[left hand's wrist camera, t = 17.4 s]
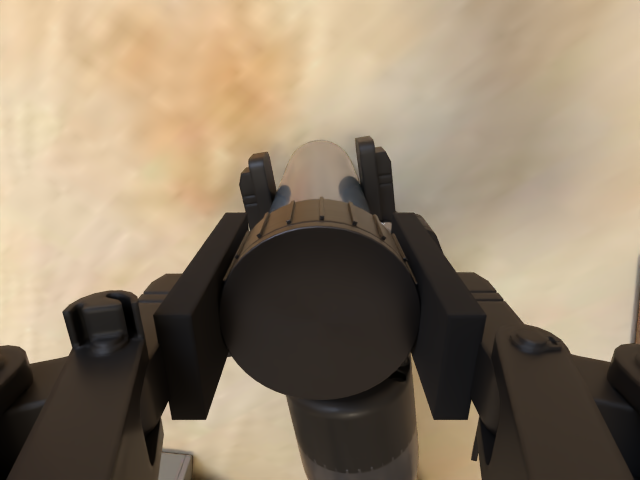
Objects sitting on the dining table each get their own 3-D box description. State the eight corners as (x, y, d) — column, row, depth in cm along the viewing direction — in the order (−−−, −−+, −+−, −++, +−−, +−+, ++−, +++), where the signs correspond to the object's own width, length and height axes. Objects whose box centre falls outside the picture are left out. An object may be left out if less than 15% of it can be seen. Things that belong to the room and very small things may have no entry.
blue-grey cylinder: (300, 129, 25) (269, 206, 10) (364, 155, 25) (429, 265, 10) (277, 192, 26) (219, 344, 11) (338, 215, 27) (361, 389, 12)
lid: (208, 308, 13) (184, 356, 10) (280, 163, 11) (270, 184, 9) (351, 371, 13) (357, 427, 11) (439, 246, 12) (466, 284, 10)
